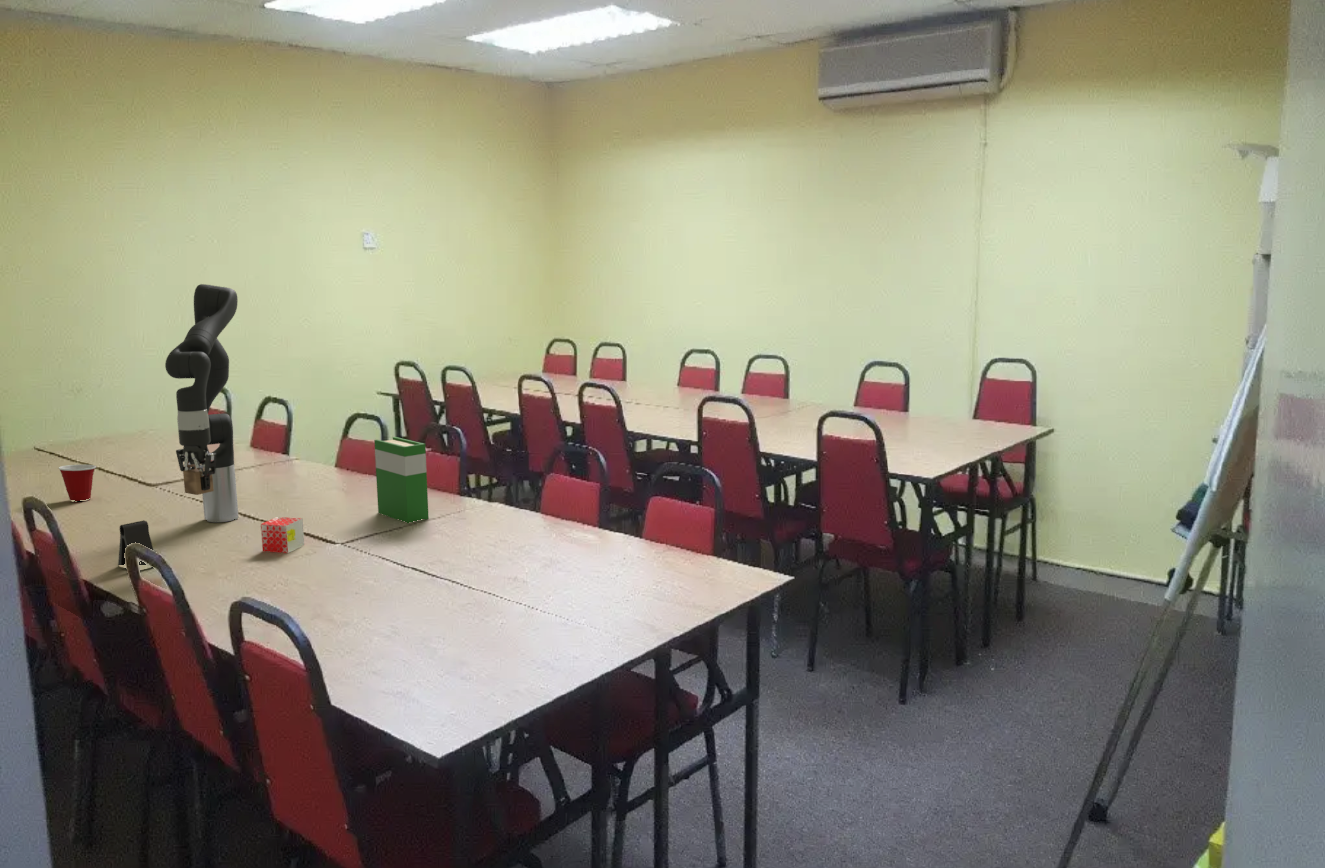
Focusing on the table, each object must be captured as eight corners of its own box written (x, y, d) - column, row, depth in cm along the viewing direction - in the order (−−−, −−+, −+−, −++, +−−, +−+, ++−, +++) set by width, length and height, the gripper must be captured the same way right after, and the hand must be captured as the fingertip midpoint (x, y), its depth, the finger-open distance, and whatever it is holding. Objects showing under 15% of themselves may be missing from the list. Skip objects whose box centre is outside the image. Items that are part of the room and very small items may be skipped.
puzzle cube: (288, 553, 261) (286, 525, 259) (262, 551, 262) (260, 524, 261) (304, 545, 268) (302, 518, 267) (279, 543, 270) (277, 516, 268)
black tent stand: (157, 567, 248) (153, 523, 246) (133, 573, 243) (129, 528, 241) (141, 560, 254) (137, 517, 251) (118, 566, 249) (113, 522, 247)
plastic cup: (106, 499, 320) (102, 464, 318) (72, 505, 311) (68, 470, 309) (89, 495, 326) (85, 461, 324) (56, 501, 317) (52, 466, 315)
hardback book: (378, 513, 303) (374, 439, 298) (398, 508, 308) (395, 436, 304) (407, 523, 291) (404, 447, 286) (428, 518, 296) (425, 443, 292)
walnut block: (184, 492, 253) (183, 471, 252) (201, 488, 257) (199, 467, 256) (197, 495, 250) (195, 473, 249) (213, 491, 255) (211, 469, 254)
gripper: (163, 426, 251) (169, 488, 254) (198, 431, 244) (204, 494, 247) (189, 422, 257) (194, 482, 260) (223, 426, 250) (229, 488, 253)
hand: (199, 488), depth 254 cm, fingers closed on walnut block, 5 cm apart
